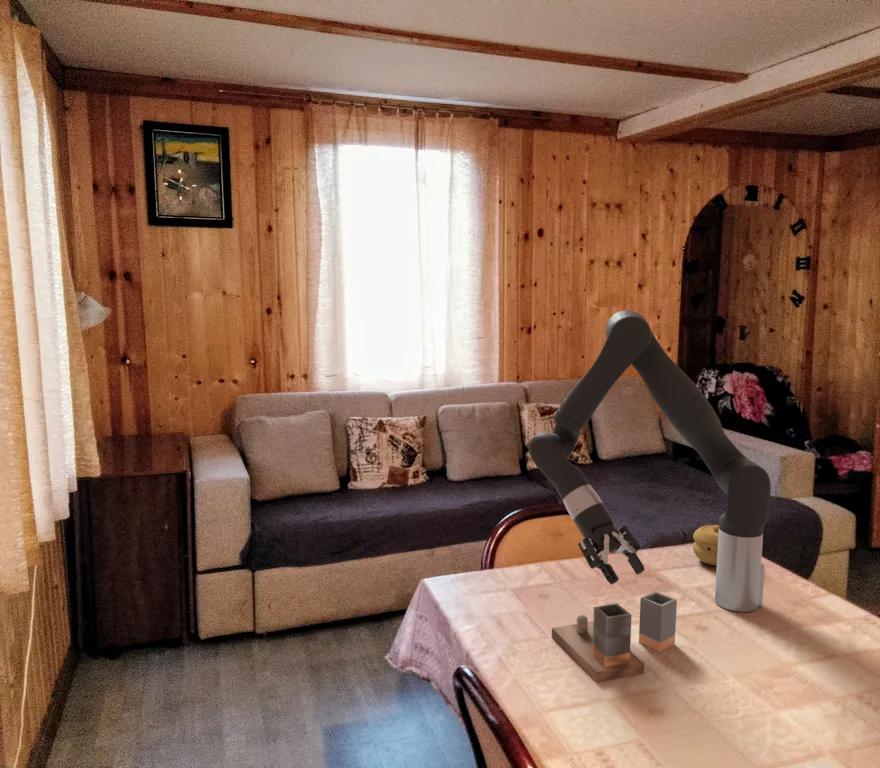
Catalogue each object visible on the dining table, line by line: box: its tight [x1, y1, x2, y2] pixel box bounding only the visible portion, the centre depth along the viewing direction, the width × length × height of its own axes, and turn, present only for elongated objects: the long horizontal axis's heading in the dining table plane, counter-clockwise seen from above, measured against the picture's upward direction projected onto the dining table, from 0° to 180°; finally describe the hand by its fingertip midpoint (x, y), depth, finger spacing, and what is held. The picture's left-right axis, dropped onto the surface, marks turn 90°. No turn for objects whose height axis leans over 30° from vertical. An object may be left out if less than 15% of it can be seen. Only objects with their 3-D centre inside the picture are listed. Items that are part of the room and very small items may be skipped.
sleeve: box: [638, 590, 678, 653], centre depth 147 cm, size 5×5×10 cm
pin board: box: [551, 603, 645, 683], centre depth 143 cm, size 10×18×12 cm, turn 18°
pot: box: [692, 524, 719, 567], centre depth 189 cm, size 12×12×10 cm
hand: (628, 577), depth 152 cm, fingers open, 8 cm apart
